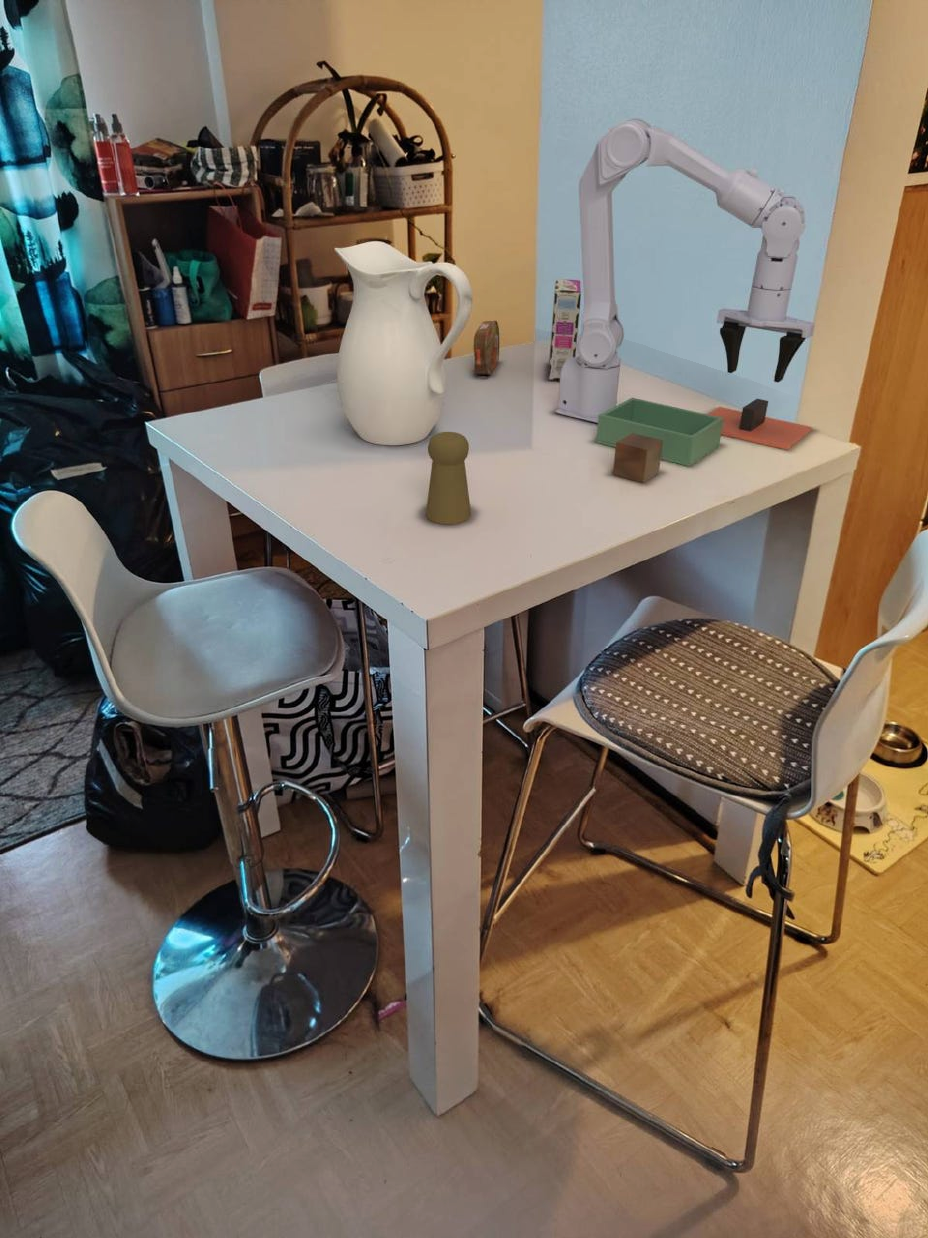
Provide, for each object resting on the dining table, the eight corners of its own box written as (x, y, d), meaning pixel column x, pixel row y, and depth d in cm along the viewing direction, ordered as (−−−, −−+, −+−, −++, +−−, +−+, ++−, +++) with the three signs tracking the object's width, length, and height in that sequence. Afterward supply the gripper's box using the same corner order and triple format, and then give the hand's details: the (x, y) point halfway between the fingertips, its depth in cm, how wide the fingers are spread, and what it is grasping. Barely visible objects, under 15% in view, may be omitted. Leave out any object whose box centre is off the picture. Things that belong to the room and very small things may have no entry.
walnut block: (612, 474, 130) (615, 442, 127) (628, 464, 134) (632, 432, 131) (643, 483, 128) (647, 450, 125) (659, 472, 131) (663, 440, 128)
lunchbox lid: (691, 427, 147) (694, 402, 145) (718, 410, 155) (722, 386, 153) (787, 449, 139) (792, 424, 137) (811, 430, 147) (817, 405, 145)
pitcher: (319, 434, 143) (304, 248, 128) (395, 409, 154) (390, 235, 139) (424, 475, 129) (421, 272, 115) (500, 444, 140) (506, 256, 125)
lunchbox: (595, 442, 141) (598, 414, 139) (629, 423, 149) (631, 397, 146) (689, 466, 133) (693, 437, 131) (719, 445, 141) (724, 417, 138)
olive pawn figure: (424, 505, 120) (423, 427, 115) (469, 504, 121) (470, 426, 115) (426, 525, 115) (425, 444, 109) (473, 523, 116) (474, 443, 110)
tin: (487, 380, 168) (488, 335, 164) (470, 379, 169) (471, 334, 164) (500, 358, 181) (501, 316, 176) (485, 357, 181) (486, 315, 177)
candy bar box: (574, 382, 168) (581, 291, 159) (548, 381, 168) (553, 290, 160) (574, 365, 177) (581, 278, 169) (549, 364, 178) (554, 277, 169)
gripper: (715, 283, 135) (701, 373, 142) (810, 297, 128) (790, 391, 135) (733, 276, 140) (719, 363, 147) (826, 289, 133) (806, 380, 140)
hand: (754, 375), depth 141 cm, fingers open, 7 cm apart
